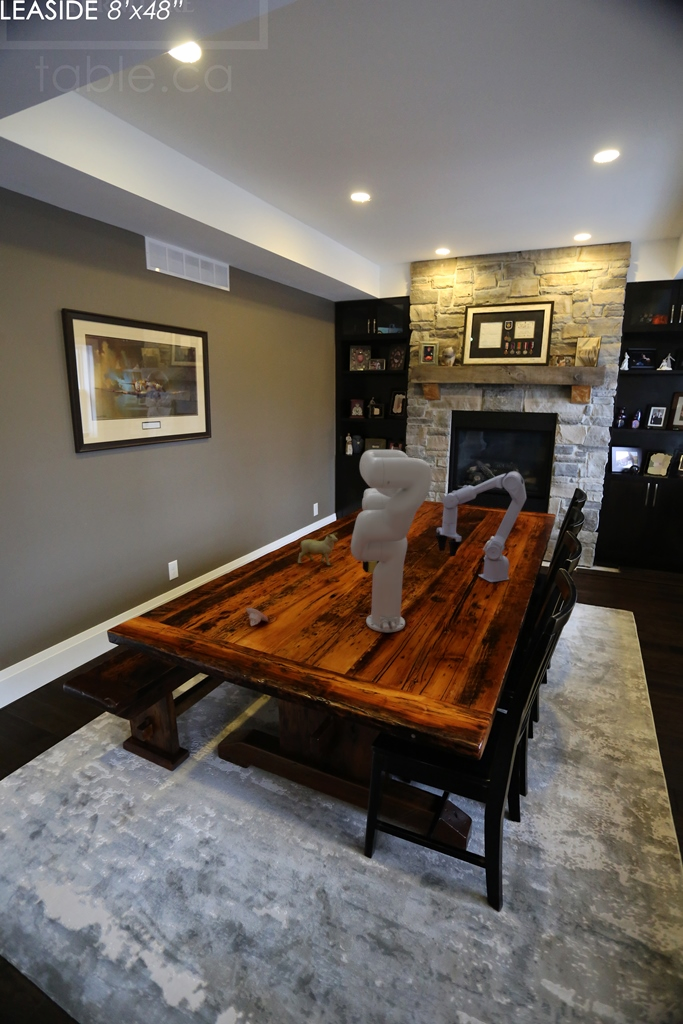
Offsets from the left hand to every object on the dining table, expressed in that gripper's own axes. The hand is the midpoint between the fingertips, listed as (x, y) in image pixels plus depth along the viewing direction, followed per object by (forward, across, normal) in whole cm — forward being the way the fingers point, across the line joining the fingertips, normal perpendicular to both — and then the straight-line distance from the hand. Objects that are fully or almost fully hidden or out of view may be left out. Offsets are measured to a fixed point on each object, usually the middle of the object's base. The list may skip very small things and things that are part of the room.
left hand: (371, 570), depth 184 cm
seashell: (+9, +43, +17) cm, 47 cm away
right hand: (+1, -38, -19) cm, 42 cm away
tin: (0, 0, 0) cm, 0 cm away
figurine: (+9, -63, -28) cm, 69 cm away
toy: (+9, +14, -35) cm, 39 cm away
